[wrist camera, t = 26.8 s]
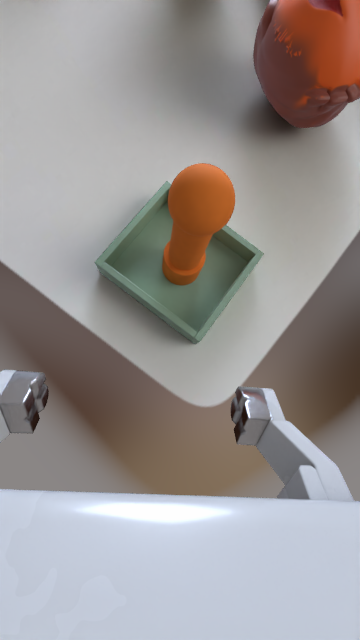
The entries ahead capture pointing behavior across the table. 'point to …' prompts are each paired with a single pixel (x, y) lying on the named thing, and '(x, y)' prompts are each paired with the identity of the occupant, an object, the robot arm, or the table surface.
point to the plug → (195, 219)
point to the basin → (156, 290)
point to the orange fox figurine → (309, 58)
